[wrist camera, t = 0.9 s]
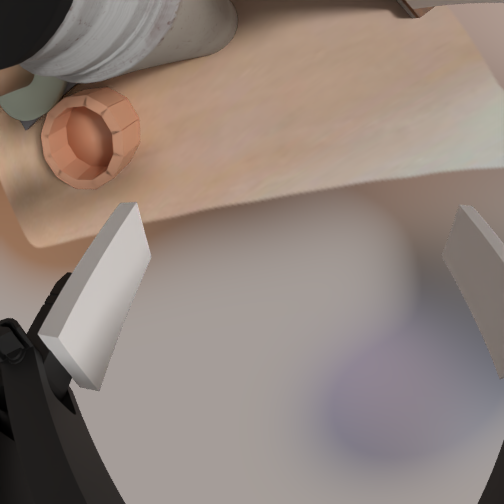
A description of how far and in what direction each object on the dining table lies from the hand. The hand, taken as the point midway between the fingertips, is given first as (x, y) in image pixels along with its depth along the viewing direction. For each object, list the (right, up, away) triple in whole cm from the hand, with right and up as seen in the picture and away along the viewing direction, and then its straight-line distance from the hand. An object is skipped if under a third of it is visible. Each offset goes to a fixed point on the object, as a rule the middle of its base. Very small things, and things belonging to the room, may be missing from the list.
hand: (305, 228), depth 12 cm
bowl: (-21, +14, +22) cm, 33 cm away
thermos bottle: (-7, +23, +14) cm, 28 cm away
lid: (-30, +22, +15) cm, 40 cm away
